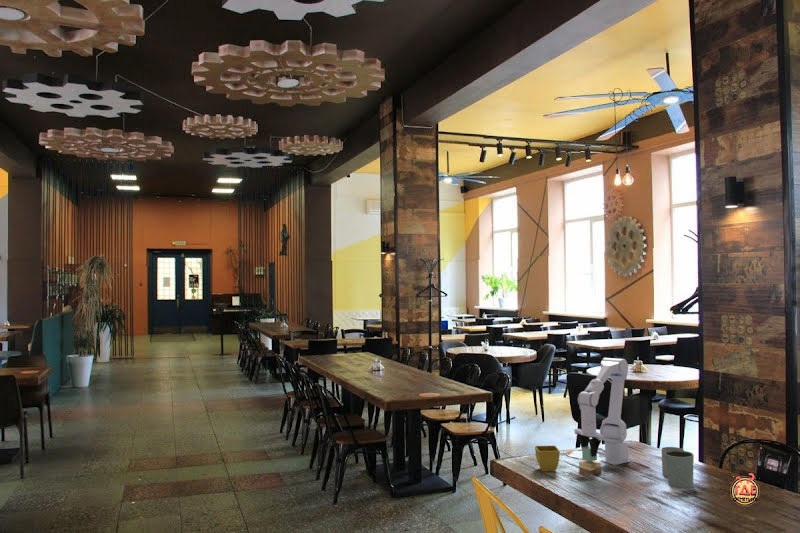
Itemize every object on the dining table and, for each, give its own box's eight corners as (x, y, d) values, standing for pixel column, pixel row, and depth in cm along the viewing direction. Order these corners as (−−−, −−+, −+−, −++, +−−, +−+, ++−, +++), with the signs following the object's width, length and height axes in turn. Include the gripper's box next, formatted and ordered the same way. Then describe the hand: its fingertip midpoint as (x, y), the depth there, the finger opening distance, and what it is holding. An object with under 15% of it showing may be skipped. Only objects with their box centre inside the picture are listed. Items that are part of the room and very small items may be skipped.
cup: (681, 471, 266) (680, 446, 266) (688, 478, 258) (687, 452, 258) (659, 471, 267) (658, 446, 267) (665, 477, 258) (664, 452, 259)
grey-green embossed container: (697, 490, 243) (696, 457, 243) (668, 489, 245) (667, 456, 245) (691, 481, 253) (690, 450, 253) (663, 480, 255) (662, 449, 255)
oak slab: (589, 464, 273) (589, 459, 273) (600, 467, 268) (600, 462, 268) (579, 467, 270) (578, 461, 270) (590, 470, 265) (589, 464, 265)
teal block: (589, 457, 272) (589, 445, 272) (596, 460, 268) (596, 447, 268) (582, 459, 270) (582, 447, 270) (589, 461, 266) (589, 449, 266)
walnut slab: (590, 470, 273) (589, 464, 273) (600, 473, 268) (600, 468, 268) (579, 472, 270) (579, 467, 270) (589, 476, 265) (589, 470, 265)
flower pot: (560, 472, 269) (560, 450, 269) (539, 473, 269) (538, 451, 269) (556, 466, 278) (555, 445, 278) (535, 467, 278) (534, 445, 278)
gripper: (568, 419, 274) (569, 452, 273) (594, 425, 261) (595, 460, 261) (581, 417, 277) (582, 449, 277) (607, 423, 264) (608, 457, 264)
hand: (589, 454), depth 269 cm, fingers open, 4 cm apart
